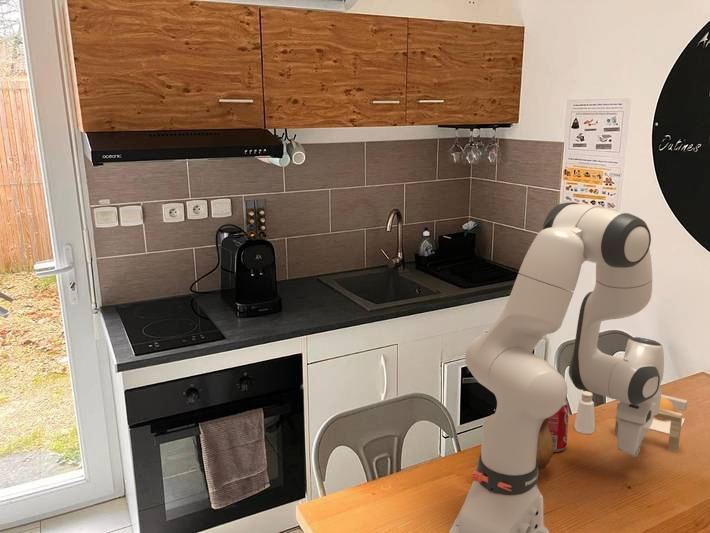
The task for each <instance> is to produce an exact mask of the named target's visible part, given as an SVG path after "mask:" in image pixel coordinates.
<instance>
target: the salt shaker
mask: <svg viewBox="0 0 710 533" xmlns="http://www.w3.org/2000/svg"><path fill="white" fill-rule="evenodd" d="M593 396H594V395H593V393H592V392H588V391H584V390H582V392H581V399H580V400H579V401H578V406H577V410H576V415H575V420H574V421H575V422H574V426H573V428H574V429H575V431H576V432H577V433H581V434H583V435H592V434H593V433H594V432H596V428H595V427H596V425H595V421H596V420H595V402H594V401H593Z"/></svg>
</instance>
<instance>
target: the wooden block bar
mask: <svg viewBox="0 0 710 533" xmlns="http://www.w3.org/2000/svg"><path fill="white" fill-rule="evenodd" d="M661 398H666V399H668V400H670V401H671V402H672V404H673V406H674V409H676V410H681V411H686V409H687V404H688V400H687V399H682V398H680V397H679V398H678V397H674V396H670V395H666V394H662V393H661Z"/></svg>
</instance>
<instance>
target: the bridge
mask: <svg viewBox="0 0 710 533" xmlns="http://www.w3.org/2000/svg"><path fill="white" fill-rule="evenodd" d="M618 406H619V401H618V400H617V404H616V409H617V408H618ZM655 416H656V417H660V418H664V419H668V420H671V425H670V434H668V444H667V451H668V452H671V453H675V454H677V453H678V450H679V446H680V438H681V429H682V427H681V423H682V418H683V413H681V412H676V411H674V412H673V411H669V410H665V409H661V408H660V410H659V413H658V414H657V415H655ZM618 421H619V418H617V417H616V416H615V426H614V437H618Z"/></svg>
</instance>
